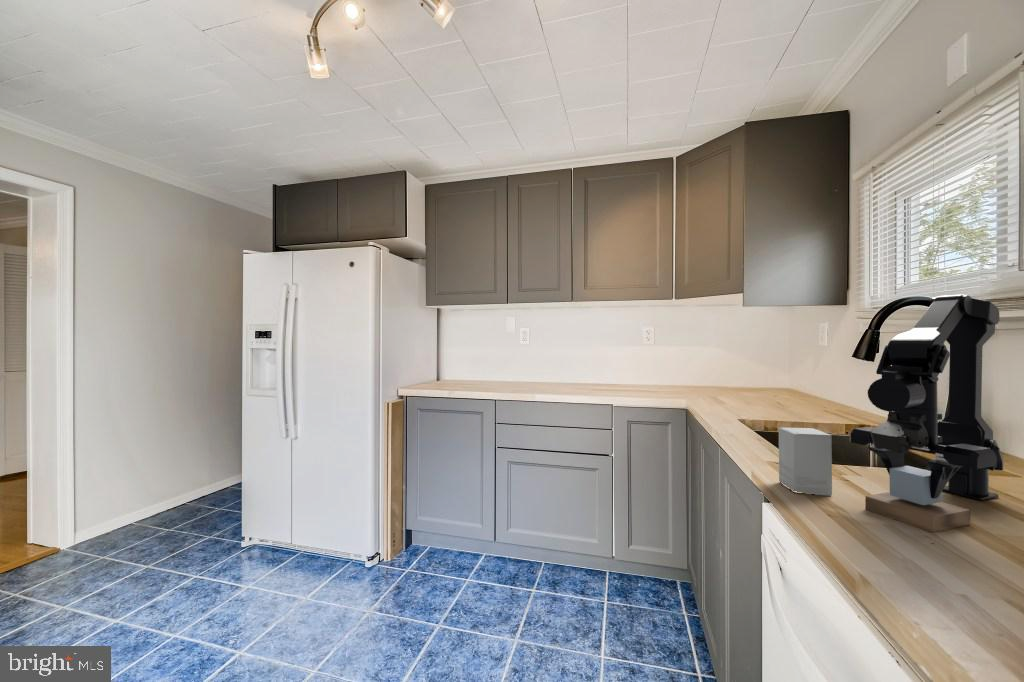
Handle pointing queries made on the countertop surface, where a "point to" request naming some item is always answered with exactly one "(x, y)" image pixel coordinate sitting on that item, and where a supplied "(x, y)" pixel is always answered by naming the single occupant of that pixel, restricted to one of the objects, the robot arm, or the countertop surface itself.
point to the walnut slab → (918, 512)
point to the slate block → (912, 485)
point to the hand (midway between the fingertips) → (915, 492)
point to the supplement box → (805, 460)
